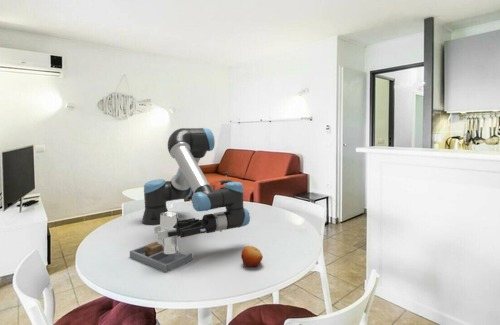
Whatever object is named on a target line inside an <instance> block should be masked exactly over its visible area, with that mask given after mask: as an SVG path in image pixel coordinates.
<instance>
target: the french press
mask: <svg viewBox="0 0 500 325" xmlns="http://www.w3.org/2000/svg"><path fill="white" fill-rule="evenodd" d="M223 174H225V176H227V174H230V173H229V172H228V171H226V172H223ZM228 182H234V180H232V179H231V180H229V179H222V180H219V183H220V185H221V186H222V187H220V188H219V189H224V188H225V186H224V187H223V185H224V184H226V183H228Z"/></svg>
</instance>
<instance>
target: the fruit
mask: <svg viewBox="0 0 500 325" xmlns="http://www.w3.org/2000/svg"><path fill="white" fill-rule="evenodd" d="M240 256H241V257H240V258H241V262H242V263H243V264H242V265H243V268H245V267H249V268H257V267H258V266H259V265H260V264H261V262H262V261H263V253H262V252H261V250H260V249H259V248H257V247H255V246H253V245H250V246H248V245H247V246H245V247H243V249H242V251H241V255H240Z"/></svg>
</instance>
